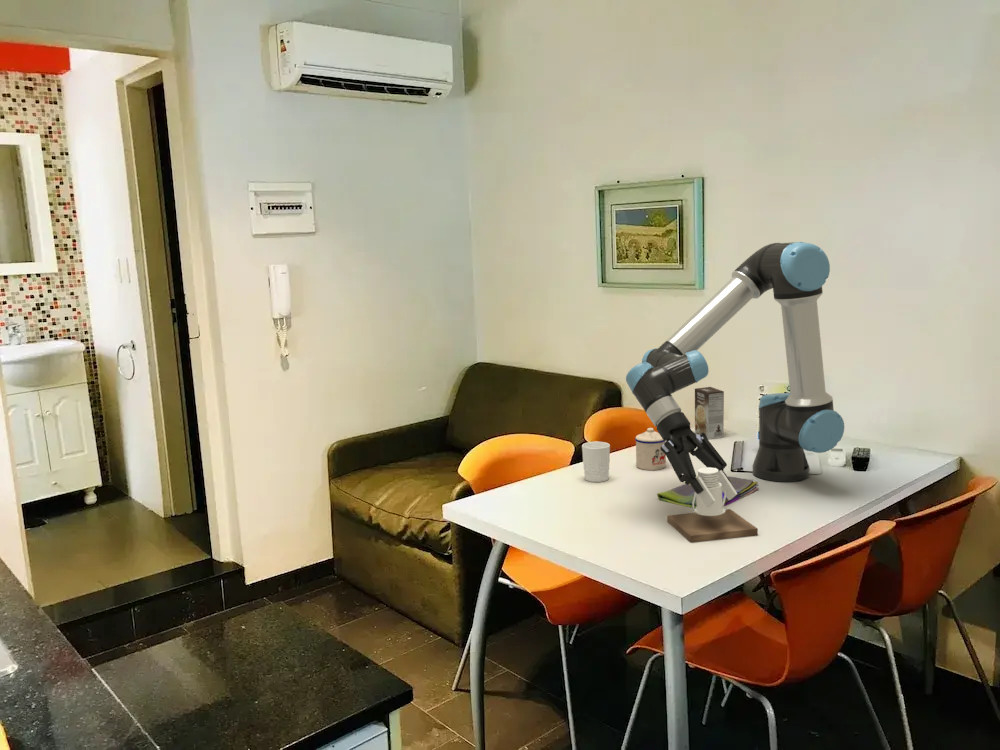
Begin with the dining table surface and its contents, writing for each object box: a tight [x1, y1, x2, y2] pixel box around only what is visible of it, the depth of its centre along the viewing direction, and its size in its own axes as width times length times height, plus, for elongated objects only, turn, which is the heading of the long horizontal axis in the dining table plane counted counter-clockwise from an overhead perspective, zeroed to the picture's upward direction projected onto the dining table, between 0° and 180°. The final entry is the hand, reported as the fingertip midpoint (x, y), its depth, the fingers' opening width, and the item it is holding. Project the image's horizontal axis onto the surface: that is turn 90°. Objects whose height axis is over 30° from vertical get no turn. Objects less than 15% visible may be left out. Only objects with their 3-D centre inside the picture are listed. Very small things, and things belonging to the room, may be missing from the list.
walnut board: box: [666, 508, 759, 543], centre depth 186 cm, size 16×14×2 cm
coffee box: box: [694, 386, 725, 440], centre depth 271 cm, size 9×6×16 cm
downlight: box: [692, 466, 726, 516], centre depth 184 cm, size 8×7×10 cm
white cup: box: [581, 441, 611, 483], centre depth 228 cm, size 8×8×10 cm
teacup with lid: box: [634, 427, 667, 471], centre depth 239 cm, size 12×9×12 cm
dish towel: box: [656, 476, 759, 509], centre depth 211 cm, size 18×24×3 cm
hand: (722, 500), depth 182 cm, fingers closed on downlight, 7 cm apart
